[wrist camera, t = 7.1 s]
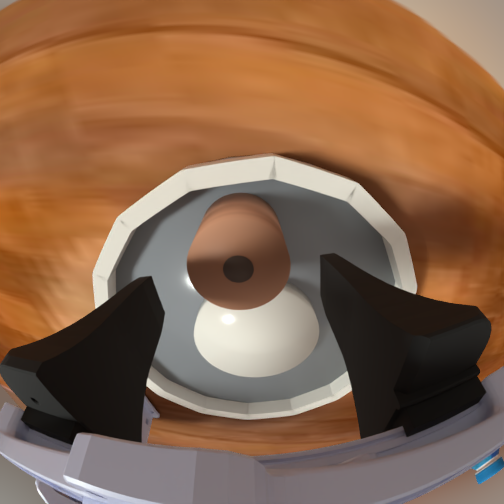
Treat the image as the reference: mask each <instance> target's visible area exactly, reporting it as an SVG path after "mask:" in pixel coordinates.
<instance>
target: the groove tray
mask: <svg viewBox="0 0 504 504" xmlns="http://www.w3.org/2000/svg"><path fill="white" fill-rule="evenodd" d="M233 193H248V194H252V195H255V196H258V197H260V198H261V199H263V200H265V201H266V202H267V203H268V204H269V205H270V206H271V207H272V208H273V210H274V211H275V213H276V215H277V217H278V220H279V223H280V226H281V230H282V233H283V236H284V239H285V243H286V246H287V249H288V252H289V256H290V262H291V269H290V275H289V278H288V281H287V283H286V285H285V287H284V288H283V290H282V291H281V292H280V293H279V294H278V295H277V296H276V297H275V298H274V299H273V300H271V301H270V302H268V303H266V304H264V305H262V306H260V307H257V308H253V309H248V310H231V309H226V308H222V307H219V306H216V305H214V304H212V303H210V302H209V301H207V300H206V299H204V298H203V297H202V296H201V295H200V294H199V293H198V292H197V291H196V289H195V288H194V287H193V285H192V283H191V281H190V279H189V276H188V272H187V256H188V252H189V249H190V247H191V244H192V242H193V240H194V237H195V235H196V233H197V231H198V228H199V226H200V224H201V222H202V219H203V217H204V215H205V213H206V211H207V209H208V208H209V207H210V206H211V205H212V204H213V203H214V202H215V201H216V200H218V199H219V198H221V197H223V196H225V195H228V194H233ZM330 253H335V254H337V255H339V256H341V257H343V258H344V259H346V260H347V261H349V262H351V263H352V264H354V265H355V266H357V267H359V268H360V269H362V270H364V271H365V272H367V273H369V274H371V275H373V276H374V277H376V278H378V279H380V280H382V281H384V282H386V283H388V284H390V285H393V286H395V287H398V288H400V289H402V290H405V291H408V292H410V293H413V294H416V291H417V283H416V278H415V273H414V268H413V263H412V259H411V254H410V250H409V246H408V242H407V238H406V234H405V233H404V232H403V230H402V229H401V228H400V227H399V226H398V225H397V224H396V222H395V221H394V220H393V219H392V218H391V217H390V216H389V215H388V214H387V212H386V211H385V210H384V209H383V208H382V207H381V206H380V205H379V204H378V203H377V202H376V201H375V200H374V199H373V198H372V197H371V196H370V194H369V193H368V192H367V191H366V190H365V189H364V188H363V187H362V186H361V185H360V184H359V183H357V182H355V181H354V180H352V179H350V178H348V177H345V176H343V175H340V174H337V173H334V172H331V171H328V170H325V169H323V168H320V167H318V166H315V165H313V164H310V163H307V162H303V161H299V160H295V159H291V158H287V157H284V156H280V155H277V154H273V153H269V154H260V155H247V156H234V157H227V158H223V159H218V160H214V161H210V162H205V163H201V164H195V165H190V166H187V167H185V168H184V169H182V170H181V171H179V172H178V173H176V174H175V175H173V176H172V177H170V178H169V179H167V180H166V181H164V182H163V183H162V184H160V185H159V186H157V187H156V188H155V189H153V190H152V191H150V192H149V193H148V194H146V195H145V196H144V197H142V198H141V199H140V200H138V201H137V202H136V203H134V204H133V205H132V206H130V207H129V208H128V209H127V210H125V211H124V212H123V213H122V214H120V215H119V216H118V217H117V219H116V221H115V223H114V225H113V227H112V229H111V231H110V233H109V236H108V238H107V240H106V242H105V244H104V247H103V249H102V251H101V254H100V256H99V258H98V261H97V263H96V266H95V268H94V271H93V288H94V299H95V308H98V307H99V306H100V305H102V304H103V303H104V302H106V301H107V300H108V299H110V298H111V297H112V296H114V295H115V294H116V293H117V292H119V291H120V290H121V289H123V288H124V287H125V286H127V285H128V284H129V283H131V282H132V281H134V280H135V279H137V278H139V277H145V276H152V278H153V281H154V284H155V287H156V290H157V293H158V295H159V298H160V301H161V303H162V306H163V309H164V311H165V317H164V323H163V328H162V333H161V336H160V339H159V342H158V346H157V349H156V352H155V355H154V358H153V361H152V364H151V368H150V371H149V375H148V379H147V384H146V386H147V387H148V388H150V389H151V390H152V391H153V392H155V393H156V394H157V395H159V396H161V397H163V398H166V399H168V400H170V401H172V402H175V403H177V404H179V405H182V406H184V407H187V408H189V409H192V410H194V411H197V412H199V413H203V414H209V415H215V416H221V417H228V418H236V419H245V420H252V419H265V418H275V417H284V416H292V415H296V414H299V413H302V412H305V411H308V410H311V409H314V408H317V407H320V406H322V405H325V404H328V403H330V402H333V401H335V400H338V399H340V398H341V397H343V396H344V395H346V394H347V393H349V392H350V391H351V390H352V388H351V384H350V379H349V376H348V372H347V368H346V364H345V361H344V358H343V355H342V353H341V350H340V348H339V345H338V343H337V341H336V338H335V336H334V334H333V331H332V329H331V326H330V324H329V322H328V319H327V317H326V314H325V311H324V307H323V304H322V300H321V296H320V255H322V254H330Z"/></svg>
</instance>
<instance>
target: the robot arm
mask: <svg viewBox="0 0 504 504" xmlns="http://www.w3.org/2000/svg"><path fill="white" fill-rule="evenodd" d="M320 296H321V300H322V304H323V307H324V311H325V314H326V317H327V319H328V322H329V324H330V326H331V329H332V331H333V334H334V336H335V338H336V341H337V343H338V345H339V348H340V350H341V353H342V355H343V358H344V361H345V364H346V368H347V372H348V376H349V379H350V384H351V388H352V392H353V397H354V401H355V406H356V412H357V417H358V423H359V429H360V436H361V439H359V440H355V441H351V442H347V443H343V444H338V445H334V446H329V447H324V448H319V449H313V450H307V451H300V452H293V453H285V454H276V455H265V456H248V455H243V454H239V453H235V452H231V451H226V450H214V449H204V448H190V447H175V446H164V445H155V444H147V441H148V436H149V432H150V427H151V423H152V419H153V418H159V416H160V415H159V413H158V412H157V411H156V409H155V408H154V407H153V405H152V404H151V403H150V401H149V400H148V399H147V397H146V396H145V390H146V384H147V379H148V375H149V371H150V368H151V364H152V361H153V358H154V355H155V352H156V349H157V346H158V342H159V339H160V336H161V333H162V328H163V323H164V317H165V311H164V309H163V306H162V303H161V301H160V298H159V295H158V293H157V290H156V287H155V284H154V281H153V278H152V276H145V277H139V278H137V279H135V280H134V281H132V282H131V283H129V284H128V285H127V286H125V287H124V288H123V289H121V290H120V291H119V292H117V293H116V294H115V295H114V296H112V297H111V298H110V299H108V300H107V301H106V302H104V303H103V304H102V305H100V306H99V307H98V308H96V309H95V310H94V311H92V312H91V313H89V314H88V315H86V316H85V317H83V318H82V319H80V320H79V321H77V322H75V323H74V324H72V325H70V326H68V327H66V328H64V329H62V330H61V331H59V332H57V333H55V334H53V335H50V336H48V337H46V338H44V339H41V340H38V341H36V342H33V343H30V344H27V345H24V346H20V347H17V348H13V349H11V350H10V351H9V352H8V353H7V355H6V356H5V358H4V359H3V361H2V362H1V364H0V374H1V376H2V378H3V379H4V381H5V382H6V384H7V385H8V386H9V387H10V388H11V390H12V391H13V392H14V393H15V394H16V395H17V396H18V397H19V398H20V400H21V401H22V402H23V403H24V404H25V405H26V406H27V407H26V409H25V411H23V410H22V409H21V408H19V407H17V406H15V405H12V404H10V403H8V402H5V404H4V406H3V407H2V409H1V412H0V454H1V455H2V456H3V457H5V458H6V459H7V460H9V461H10V462H12V463H13V464H14V465H16V466H17V467H19V468H20V469H22V470H23V471H25V472H26V473H28V474H29V475H31V476H33V477H34V478H36V482H35V484H36V486H37V491H38V493H39V494H40V496H41V497H42V498H43V500H44V501H45V502H46V504H403V503H405V502H408V501H410V500H413V499H415V498H417V497H419V496H421V495H424V494H426V493H428V492H430V491H431V490H434V489H436V488H438V487H439V486H441V485H443V484H445V483H447V482H448V481H450V480H452V479H454V478H456V477H457V476H459V475H461V474H462V473H464V472H465V471H467V470H469V469H470V468H472V467H473V466H475V465H476V464H478V463H479V462H481V461H482V460H484V459H485V458H487V457H488V456H489V455H491V454H492V453H494V452H495V451H496V450H498V449H499V448H500V447H501V446H502V445H504V366H503V367H501V368H500V369H498V370H497V371H495V372H493V373H492V374H490V375H489V376H487V377H486V378H485V379H484V380H483V381H482V382H480V380H479V379H478V377H477V376H478V375H479V373H480V369H479V368H478V366H477V365H476V363H477V361H478V359H479V358H480V356H481V354H482V352H483V350H484V349H485V347H486V345H487V343H488V340H489V338H490V334H491V323H490V321H489V320H488V319H487V318H486V317H485V315H484V314H483V313H482V312H481V311H480V310H479V308H478V307H477V306H470V305H462V304H453V303H448V302H443V301H438V300H434V299H430V298H426V297H423V296H420V295H417V294H413V293H410V292H408V291H405V290H402V289H400V288H398V287H395V286H393V285H390V284H388V283H386V282H384V281H382V280H380V279H378V278H376V277H374V276H373V275H371V274H369V273H367V272H365V271H364V270H362V269H360V268H359V267H357V266H355V265H354V264H352V263H351V262H349V261H347V260H346V259H344V258H343V257H341V256H339V255H337V254H335V253H330V254H322V255H320ZM66 494H67V495H66ZM68 495H69V496H68ZM70 496H71V497H70ZM72 497H73V498H72ZM74 498H75V499H74ZM76 499H77V500H76ZM78 500H80V501H78ZM81 501H82V502H81Z"/></svg>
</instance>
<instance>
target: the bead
mask: <svg viewBox="0 0 504 504" xmlns="http://www.w3.org/2000/svg"><path fill="white" fill-rule="evenodd" d="M290 269H291V262H290V256H289V252H288V249H287V246H286V243H285V239H284V236H283V233H282V230H281V226H280V223H279V220H278V217H277V215H276V213H275V211H274V210H273V208H272V207H271V206H270V205H269V204H268V203H267V202H266V201H265V200H263V199H261V198H260V197H258V196H255V195H252V194H248V193H233V194H228V195H225V196H223V197H221V198H219V199H218V200H216V201H215V202H214V203H213V204H212V205H211V206H210V207H209V208H208V209H207V211H206V213H205V215H204V217H203V219H202V222H201V224H200V226H199V228H198V231H197V233H196V235H195V237H194V240H193V242H192V244H191V247H190V249H189V252H188V256H187V272H188V276H189V279H190V281H191V283H192V285H193V287H194V288H195V289H196V291H197V292H198V293H199V294H200V295H201V296H202V297H203V298H204V299H206V300H207V301H209V302H210V303H212V304H214V305H216V306H219V307H222V308H226V309H231V310H248V309H253V308H257V307H260V306H262V305H264V304H266V303H268V302H270V301H271V300H273V299H274V298H275V297H276V296H277V295H278V294H279V293H280V292H281V291H282V290H283V288H284V287H285V285H286V283H287V281H288V278H289V275H290Z"/></svg>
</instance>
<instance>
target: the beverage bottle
mask: <svg viewBox="0 0 504 504" xmlns="http://www.w3.org/2000/svg"><path fill="white" fill-rule="evenodd" d="M498 453H499V449H498V450H496V451H495V452H494V453H492V454H491V455H489V456H488V457H487V458H485V459H484V460H482V461H481V462H479V463H478V464H476V465H475V466H473V467H472V469H474V470H477V471H478V472H477V473H476V475H475V476H476V479H477V482H478V484H481V483H482V482H484V481H486V480H487V479H489V478H490V477H492V476H493V475H494V474H496V473H497V472H498V471H500V470H501V469H502V468H503V467H504V461H503V459H502V457H501V456H500V457H498Z"/></svg>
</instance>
